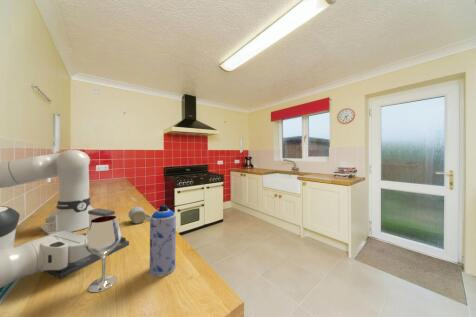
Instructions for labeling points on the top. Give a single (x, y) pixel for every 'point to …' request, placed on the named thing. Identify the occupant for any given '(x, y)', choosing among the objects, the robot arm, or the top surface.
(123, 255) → the top surface
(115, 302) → the top surface
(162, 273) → the aerosol can
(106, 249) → the wineglass
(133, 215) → the light bulb
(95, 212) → the fader knob
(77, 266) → the fader track
